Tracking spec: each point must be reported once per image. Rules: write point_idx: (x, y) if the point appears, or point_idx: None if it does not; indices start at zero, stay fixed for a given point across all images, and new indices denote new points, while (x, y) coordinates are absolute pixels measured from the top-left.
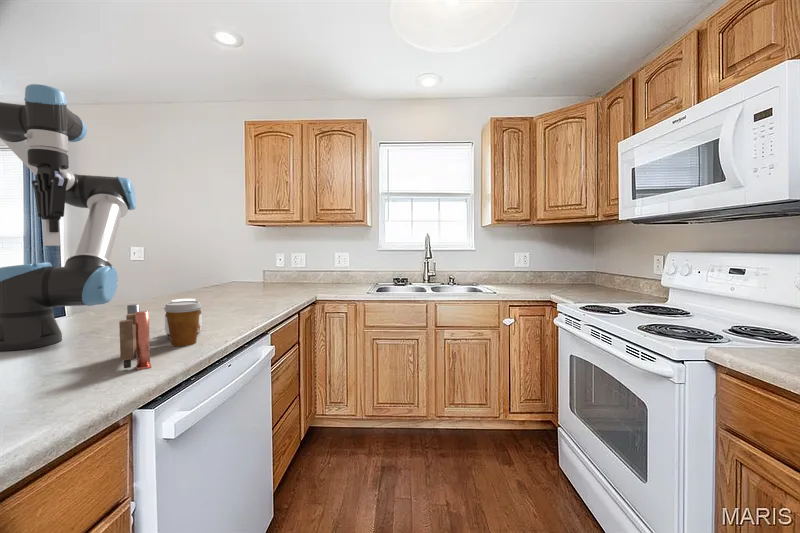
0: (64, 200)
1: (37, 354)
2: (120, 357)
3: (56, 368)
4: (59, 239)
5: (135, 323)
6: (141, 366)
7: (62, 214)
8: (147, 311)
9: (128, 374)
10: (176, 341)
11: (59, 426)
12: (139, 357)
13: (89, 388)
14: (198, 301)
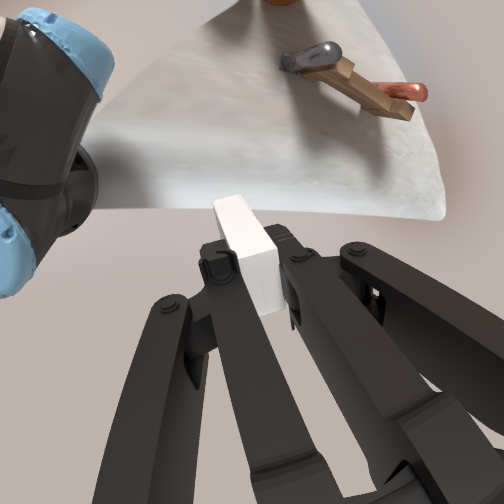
0: (457, 296)
1: (153, 171)
2: (376, 115)
3: (281, 160)
4: (245, 205)
5: (407, 99)
6: None
7: (370, 253)
8: (422, 84)
9: None
10: (293, 2)
11: (442, 196)
12: None
13: (393, 157)
14: None
